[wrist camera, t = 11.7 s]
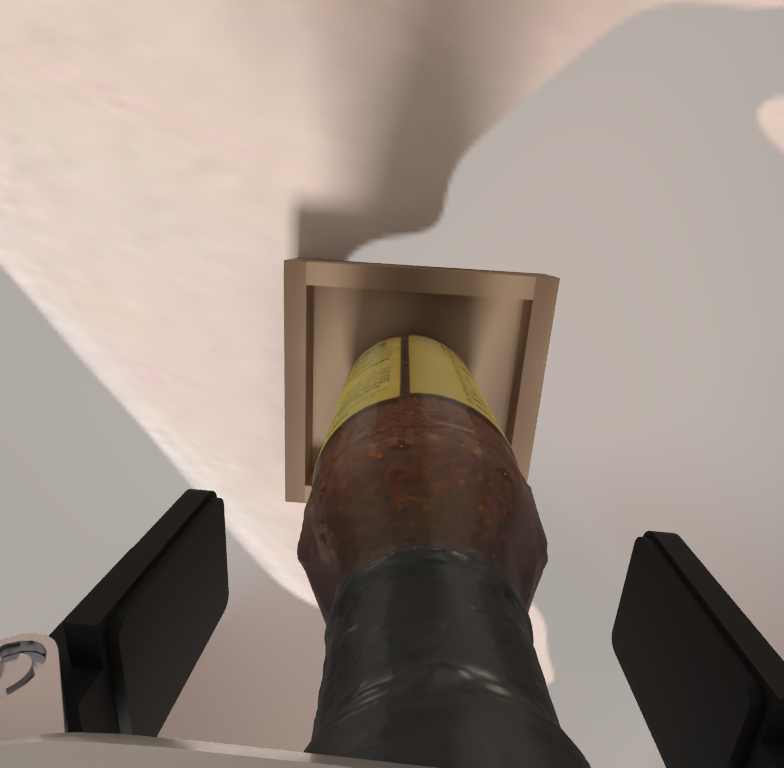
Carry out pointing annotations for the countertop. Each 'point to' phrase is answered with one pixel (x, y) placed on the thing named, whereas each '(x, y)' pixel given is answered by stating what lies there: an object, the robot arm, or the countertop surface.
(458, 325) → the tray
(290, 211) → the countertop surface
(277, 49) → the countertop surface
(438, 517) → the sauce bottle
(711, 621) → the robot arm
